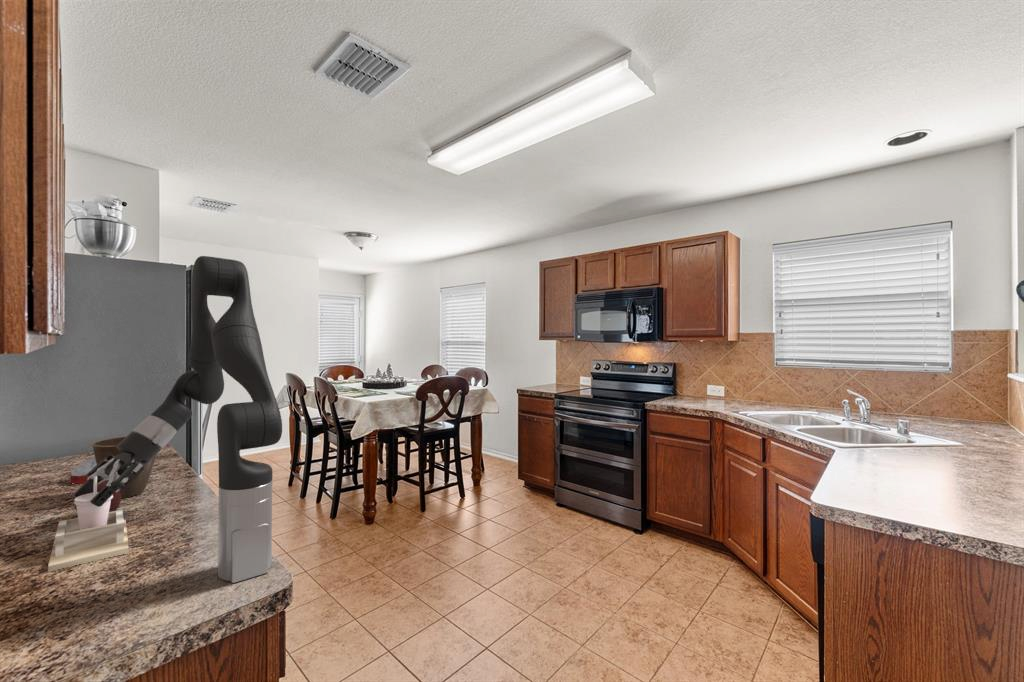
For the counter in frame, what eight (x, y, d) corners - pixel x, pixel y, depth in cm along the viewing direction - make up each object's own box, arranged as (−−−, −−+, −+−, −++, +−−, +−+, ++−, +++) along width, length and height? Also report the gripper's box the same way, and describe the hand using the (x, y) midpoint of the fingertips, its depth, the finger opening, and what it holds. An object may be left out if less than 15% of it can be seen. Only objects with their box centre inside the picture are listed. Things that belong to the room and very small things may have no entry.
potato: (72, 530, 108) (73, 491, 108) (76, 515, 117) (76, 479, 117) (120, 520, 113) (121, 484, 113) (120, 507, 122) (121, 473, 122)
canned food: (108, 494, 146) (109, 470, 143) (65, 497, 140) (66, 472, 137) (115, 470, 154) (117, 447, 151) (75, 472, 149) (76, 448, 145)
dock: (128, 553, 96) (128, 528, 96) (48, 572, 88) (48, 545, 88) (125, 524, 111) (125, 503, 111) (56, 538, 103) (56, 515, 103)
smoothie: (78, 548, 95) (80, 482, 95) (68, 541, 99) (70, 477, 99) (117, 537, 101) (118, 475, 101) (106, 531, 104) (107, 470, 104)
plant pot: (80, 506, 123) (80, 447, 123) (108, 489, 137) (109, 436, 137) (146, 500, 128) (146, 443, 128) (167, 484, 142) (167, 433, 142)
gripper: (120, 427, 110) (55, 487, 100) (150, 433, 103) (84, 498, 93) (146, 444, 114) (86, 504, 104) (176, 451, 108) (116, 515, 98)
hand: (85, 501), depth 99 cm, fingers open, 8 cm apart
